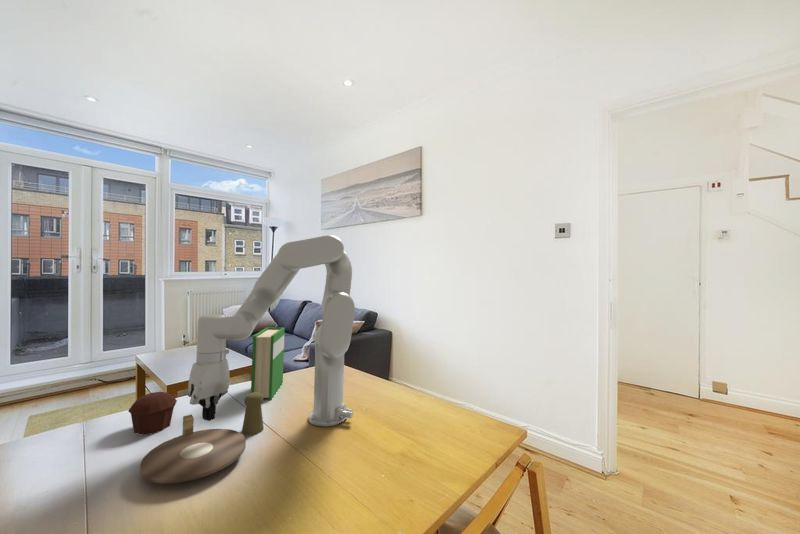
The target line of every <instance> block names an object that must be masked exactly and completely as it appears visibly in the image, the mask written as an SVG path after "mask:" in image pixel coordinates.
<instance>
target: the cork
mask: <svg viewBox="0 0 800 534" xmlns="http://www.w3.org/2000/svg"><path fill="white" fill-rule="evenodd" d="M243 400H244V401H243V402H244V405H245V411H244V417H243V423H242V428H241V434H242V435H243V436H255V435H257V434H261V432H263V431H264V429H265V427H264V421H263V420H264V419H263V418H264V417H263V409H262V403H263V401H264V398H263V395H262V393H259V392H253V393H251V392H250V393H248V394H247V395H245V397H244V399H243ZM254 434H255V435H254Z"/></svg>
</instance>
